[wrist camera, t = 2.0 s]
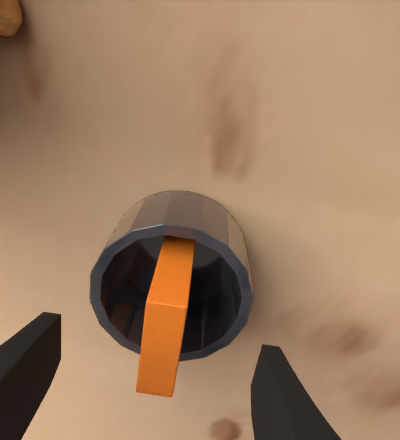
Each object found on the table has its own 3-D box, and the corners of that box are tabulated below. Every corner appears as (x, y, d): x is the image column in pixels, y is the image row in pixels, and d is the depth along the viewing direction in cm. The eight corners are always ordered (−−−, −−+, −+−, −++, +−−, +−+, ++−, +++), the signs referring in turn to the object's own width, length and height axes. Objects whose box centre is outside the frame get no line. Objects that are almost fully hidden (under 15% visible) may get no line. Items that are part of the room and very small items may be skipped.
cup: (258, 202, 19) (268, 239, 15) (232, 315, 22) (235, 371, 18) (118, 179, 19) (92, 212, 15) (110, 296, 22) (86, 349, 18)
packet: (197, 222, 19) (187, 307, 13) (186, 291, 21) (172, 398, 14) (170, 217, 19) (146, 301, 13) (160, 287, 21) (135, 392, 14)
